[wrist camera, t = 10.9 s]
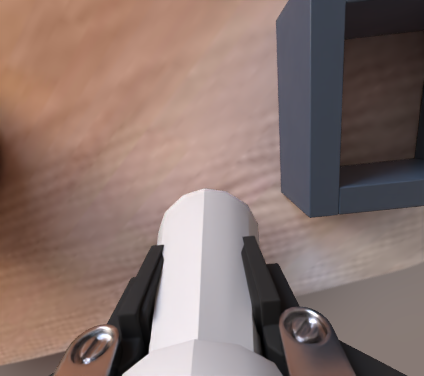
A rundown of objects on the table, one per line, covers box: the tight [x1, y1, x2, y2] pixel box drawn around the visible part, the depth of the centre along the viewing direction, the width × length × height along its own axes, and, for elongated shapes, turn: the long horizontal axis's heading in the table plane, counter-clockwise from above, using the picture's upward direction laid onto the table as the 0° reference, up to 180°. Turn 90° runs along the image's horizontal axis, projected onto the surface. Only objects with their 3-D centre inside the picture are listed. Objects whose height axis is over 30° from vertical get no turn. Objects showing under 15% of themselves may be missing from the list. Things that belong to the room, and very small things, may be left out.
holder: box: [276, 0, 424, 218], centre depth 13 cm, size 11×11×5 cm
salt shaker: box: [122, 188, 283, 376], centre depth 9 cm, size 6×6×13 cm
